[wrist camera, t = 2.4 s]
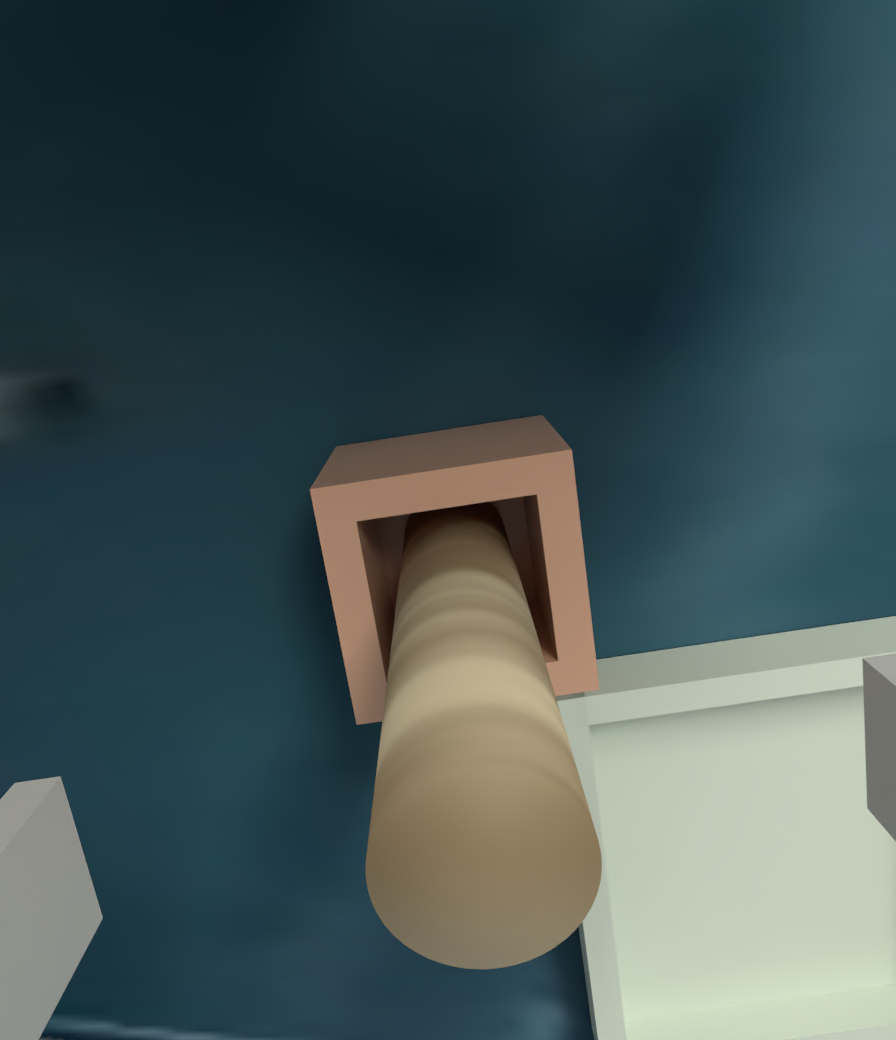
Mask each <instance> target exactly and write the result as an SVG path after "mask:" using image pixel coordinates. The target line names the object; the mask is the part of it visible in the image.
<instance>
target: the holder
mask: <svg viewBox="0 0 896 1040" xmlns="http://www.w3.org/2000/svg"><path fill="white" fill-rule="evenodd" d="M310 493H311V498H312V503H313V508H314V513H315V518H316V523H317V528H318V533H319V538H320V543H321V548H322V553H323V558H324V564H325V569H326V574H327V579H328V584H329V589H330V594H331V599H332V604H333V609H334V614H335V619H336V624H337V629H338V634H339V639H340V644H341V649H342V654H343V659H344V664H345V669H346V674H347V679H348V684H349V689H350V694H351V699H352V704H353V709H354V714H355V719H356V724H357V725H360V724H367V723H374V722H381V721H382V720H383V712H384V703H385V695H386V686H387V678H388V669H389V661H390V652H391V644H392V635H393V627H394V618H395V610H396V601H397V593H398V584H399V576H400V567H401V559H402V550H403V542H404V533H405V528H406V524H407V521H408V519H409V517H410V515H411V513H416V512H423V511H429V510H436V509H443V508H449V507H456V506H462V505H469V504H476V503H482V502H490V503H491V504H492V505H493V506H494V507H495V508H496V510H497V511H498V512H499V514H500V516H501V518H502V520H503V523H504V526H505V530H506V533H507V536H508V540H509V543H510V546H511V550H512V553H513V556H514V560H515V563H516V566H517V570H518V573H519V576H520V580H521V583H522V586H523V590H524V593H525V596H526V600H527V603H528V606H529V610H530V613H531V617H532V620H533V623H534V627H535V630H536V633H537V637H538V640H539V643H540V647H541V650H542V653H543V657H544V660H545V663H546V667H547V670H548V673H549V677H550V680H551V683H552V687H553V690H554V693H555V696H560V695H567V694H573V693H580V692H587V691H594V690H600V689H599V680H598V672H597V663H596V654H595V646H594V637H593V628H592V619H591V611H590V602H589V593H588V585H587V576H586V567H585V559H584V550H583V541H582V533H581V524H580V515H579V507H578V498H577V489H576V481H575V472H574V463H573V455H572V449H571V448H570V447H569V445H568V444H567V443H566V442H565V441H564V440H563V438H562V437H561V436H560V435H559V434H558V433H557V431H556V430H555V429H554V428H553V427H552V426H551V424H550V423H549V422H548V421H547V420H546V419H545V417H544V416H543V415H538V416H532V417H525V418H519V419H512V420H505V421H499V422H492V423H486V424H479V425H473V426H466V427H460V428H453V429H447V430H440V431H434V432H427V433H421V434H414V435H408V436H401V437H394V438H388V439H381V440H375V441H368V442H362V443H355V444H349V445H342V446H336V447H335V449H334V451H333V452H332V454H331V455H330V457H329V459H328V460H327V462H326V464H325V465H324V467H323V469H322V470H321V472H320V473H319V475H318V477H317V478H316V480H315V482H314V483H313V485H312V486H311V488H310Z"/></svg>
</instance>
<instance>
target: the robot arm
mask: <svg viewBox="0 0 896 1040" xmlns="http://www.w3.org/2000/svg"><path fill="white" fill-rule="evenodd" d="M862 661H863V692H864V724H865V755H866V786H867V808H868V810H869V811H870V812H871V813H872V814H873V816H874V817H875V818H876V819H877V820H878V821H879V823H880V824H881V825H882V826H883V827H884V828H885V830H886V831H887V832H888V833H889V834H890V835H891V837H892V838H893V839H894V840H895V841H896V653H894V654H887V655H881V656H874V657H867V658H862ZM102 919H103V917H102V914H101V910H100V907H99V903H98V900H97V897H96V893H95V890H94V887H93V883H92V880H91V877H90V873H89V870H88V867H87V863H86V860H85V857H84V853H83V850H82V847H81V843H80V840H79V837H78V833H77V830H76V826H75V823H74V820H73V816H72V813H71V810H70V806H69V803H68V800H67V796H66V793H65V790H64V786H63V783H62V780H61V776H59V777H52V778H45V779H39V780H32V781H25V782H18V783H14V784H13V786H12V787H11V788H10V789H9V790H8V791H7V793H6V794H5V795H4V796H3V797H2V798H1V800H0V1040H39V1038H40V1036H41V1034H42V1032H43V1030H44V1029H45V1027H46V1025H47V1023H48V1021H49V1019H50V1017H51V1015H52V1013H53V1012H54V1010H55V1008H56V1006H57V1004H58V1002H59V1000H60V998H61V996H62V995H63V993H64V991H65V989H66V987H67V985H68V983H69V981H70V979H71V977H72V976H73V974H74V972H75V970H76V968H77V966H78V964H79V962H80V960H81V959H82V957H83V955H84V953H85V951H86V949H87V947H88V945H89V943H90V942H91V940H92V938H93V936H94V934H95V932H96V930H97V928H98V926H99V924H100V923H101V921H102Z"/></svg>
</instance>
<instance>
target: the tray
mask: <svg viewBox="0 0 896 1040" xmlns="http://www.w3.org/2000/svg"><path fill="white" fill-rule="evenodd" d="M894 653H896V616H893V617H886V618H879V619H872V620H865V621H858V622H852V623H845V624H838V625H831V626H824V627H817V628H811V629H804V630H797V631H790V632H783V633H776V634H769V635H763V636H756V637H749V638H742V639H735V640H728V641H722V642H715V643H708V644H701V645H694V646H687V647H680V648H674V649H667V650H660V651H653V652H646V653H639V654H633V655H626V656H619V657H612V658H605V659H598V660H596V663H597V672H598V680H599V689H600V690H594V691H587V692H580V693H573V694H567V695H560V696H555V697H556V700H557V703H558V707H559V710H560V714H561V717H562V720H563V724H564V727H565V730H566V734H567V737H568V740H569V744H570V747H571V750H572V754H573V757H574V760H575V764H576V767H577V770H578V774H579V777H580V780H581V784H582V787H583V790H584V794H585V797H586V801H587V804H588V807H589V811H590V814H591V817H592V821H593V824H594V827H595V831H596V834H597V837H598V841H599V845H600V850H601V857H602V872H601V881H600V885H599V889H598V893H597V896H596V898H595V900H594V903H593V905H592V907H591V909H590V911H589V912H588V914H587V916H586V917H585V919H584V920H583V921H582V923H581V924H580V925H579V926H578V928H579V935H580V943H581V950H582V958H583V965H584V973H585V980H586V988H587V996H588V1003H589V1011H590V1018H591V1026H592V1031H593V1036H594V1040H896V841H895V840H894V839H893V838H892V837H891V835H890V834H889V833H888V832H887V831H886V830H885V828H884V827H883V826H882V825H881V824H880V823H879V821H878V820H877V819H876V818H875V817H874V816H873V814H872V813H871V812H870V811H869V810H868V808H867V786H866V755H865V724H864V692H863V661H862V658H867V657H874V656H881V655H887V654H894Z"/></svg>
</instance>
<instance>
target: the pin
mask: <svg viewBox="0 0 896 1040" xmlns="http://www.w3.org/2000/svg"><path fill="white" fill-rule="evenodd" d="M601 872H602V857H601V850H600V845H599V841H598V837H597V834H596V831H595V827H594V824H593V821H592V817H591V814H590V811H589V807H588V804H587V801H586V797H585V794H584V790H583V787H582V784H581V780H580V777H579V774H578V770H577V767H576V764H575V760H574V757H573V754H572V750H571V747H570V744H569V740H568V737H567V734H566V730H565V727H564V724H563V720H562V717H561V714H560V710H559V707H558V703H557V700H556V697H555V693H554V690H553V687H552V683H551V680H550V677H549V673H548V670H547V667H546V663H545V660H544V657H543V653H542V650H541V647H540V643H539V640H538V637H537V633H536V630H535V627H534V623H533V620H532V617H531V613H530V610H529V606H528V603H527V600H526V596H525V593H524V590H523V586H522V583H521V580H520V576H519V573H518V570H517V566H516V563H515V560H514V556H513V553H512V550H511V546H510V543H509V540H508V536H507V533H506V530H505V526H504V523H503V520H502V518H501V516H500V514H499V512H498V511H497V510H496V508H495V507H494V506H493V505H492V504H491V503H490V502H482V503H476V504H469V505H462V506H456V507H449V508H443V509H436V510H429V511H423V512H416V513H411V515H410V517H409V519H408V521H407V524H406V528H405V533H404V542H403V550H402V559H401V567H400V576H399V584H398V593H397V601H396V610H395V618H394V627H393V635H392V644H391V652H390V661H389V669H388V678H387V686H386V695H385V703H384V712H383V720H382V729H381V737H380V746H379V754H378V763H377V771H376V780H375V788H374V797H373V805H372V814H371V822H370V831H369V839H368V848H367V856H366V882H367V888H368V892H369V895H370V899H371V902H372V904H373V906H374V908H375V910H376V913H377V914H378V916H379V917H380V919H381V920H382V922H383V924H384V925H385V926H386V927H387V928H388V929H389V931H390V932H391V933H392V934H393V935H394V936H395V937H396V938H397V939H398V940H400V941H401V942H402V943H403V944H404V945H406V946H407V947H409V948H410V949H412V950H413V951H415V952H416V953H418V954H420V955H422V956H424V957H426V958H428V959H431V960H434V961H436V962H439V963H442V964H446V965H450V966H454V967H460V968H467V969H494V968H503V967H508V966H513V965H517V964H520V963H523V962H526V961H529V960H532V959H534V958H536V957H538V956H541V955H543V954H545V953H546V952H548V951H550V950H551V949H553V948H555V947H556V946H557V945H559V944H560V943H561V942H563V941H564V940H565V939H567V938H568V937H569V936H570V935H571V934H572V933H573V932H574V931H575V930H576V929H577V928H578V926H579V925H580V924H581V923H582V921H583V920H584V919H585V917H586V916H587V914H588V912H589V911H590V909H591V907H592V905H593V903H594V900H595V898H596V896H597V893H598V889H599V885H600V881H601Z"/></svg>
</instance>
